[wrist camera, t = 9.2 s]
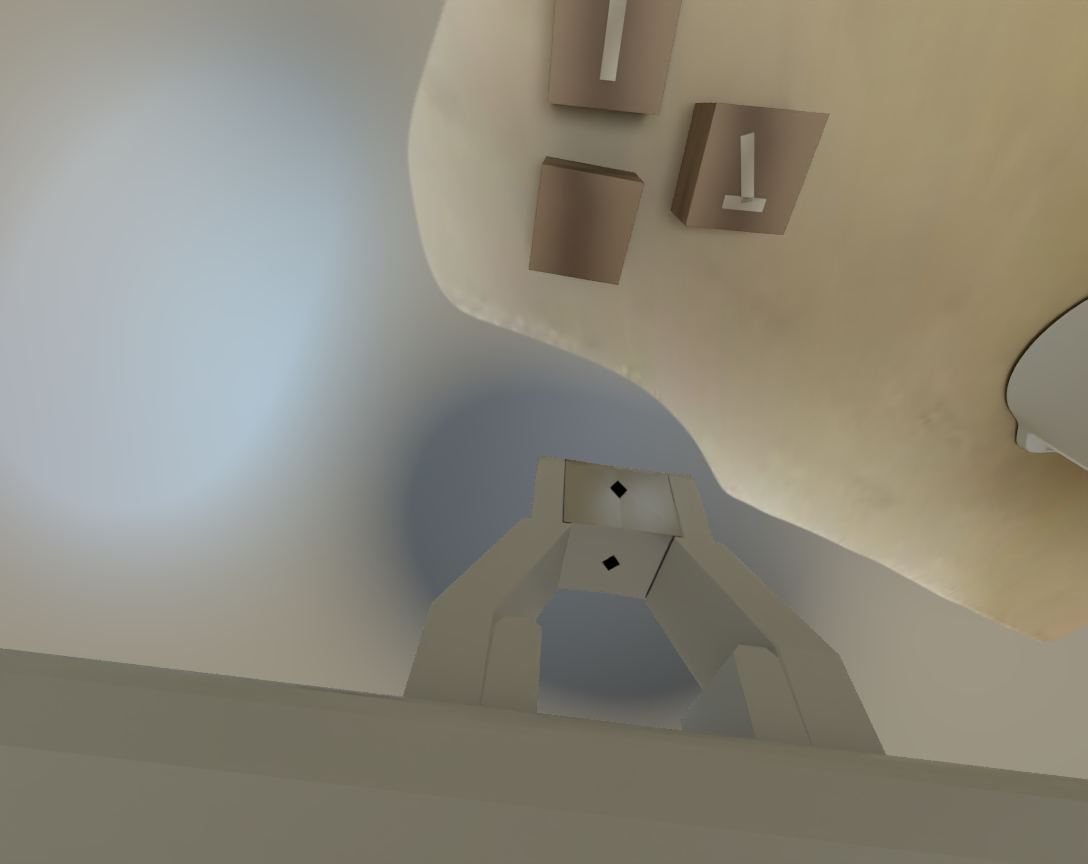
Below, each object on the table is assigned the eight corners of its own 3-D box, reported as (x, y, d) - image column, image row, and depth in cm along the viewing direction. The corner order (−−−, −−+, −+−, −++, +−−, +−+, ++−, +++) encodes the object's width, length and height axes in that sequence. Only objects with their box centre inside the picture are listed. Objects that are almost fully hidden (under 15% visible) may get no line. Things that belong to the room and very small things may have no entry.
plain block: (634, 172, 29) (644, 183, 25) (612, 263, 33) (618, 284, 29) (546, 156, 29) (542, 164, 25) (534, 249, 33) (528, 269, 29)
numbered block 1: (671, -22, 24) (692, -49, 20) (646, 113, 27) (659, 115, 23) (562, -35, 24) (559, -64, 20) (551, 103, 27) (547, 103, 23)
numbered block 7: (791, 112, 27) (831, 114, 23) (755, 218, 31) (784, 235, 26) (695, 103, 27) (717, 102, 23) (670, 210, 31) (686, 226, 26)
